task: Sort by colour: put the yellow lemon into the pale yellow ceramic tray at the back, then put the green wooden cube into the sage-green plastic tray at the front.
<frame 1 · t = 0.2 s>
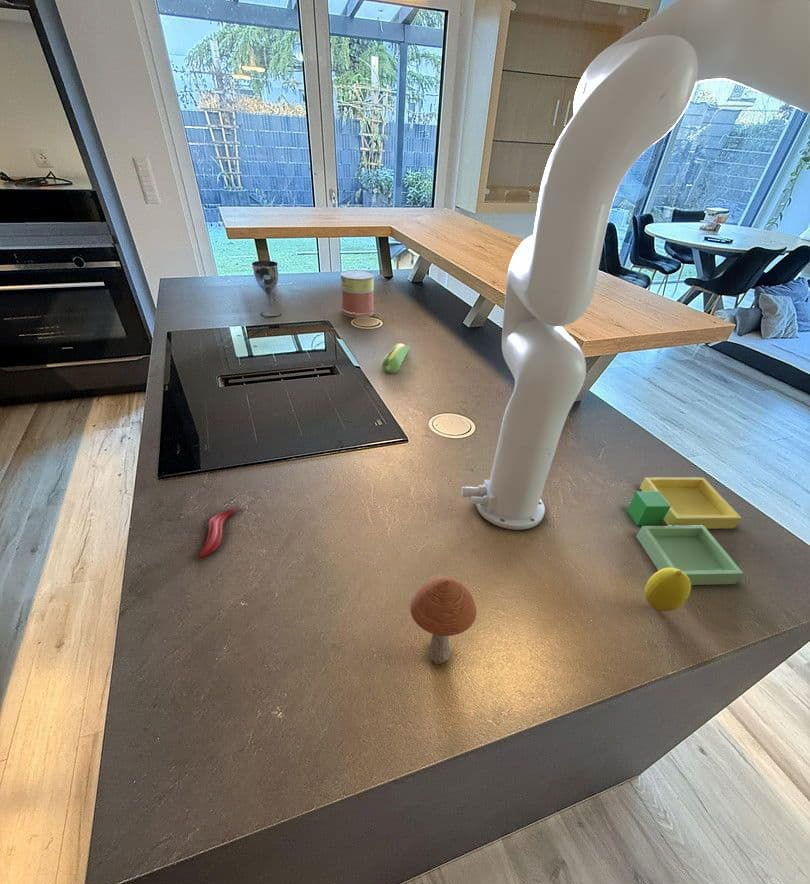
green cube: (642, 517, 86), on the kitchen island
yellow tray: (684, 507, 90), on the kitchen island
green tray: (683, 559, 79), on the kitchen island
edible corn: (396, 364, 133), on the kitchen island
canned food: (357, 313, 164), on the kitchen island
mushroom: (435, 655, 62), on the kitchen island
wine glass: (271, 314, 158), on the kitchen island
lemon: (655, 607, 71), on the kitchen island
cayenne pepper: (215, 533, 77), on the kitchen island
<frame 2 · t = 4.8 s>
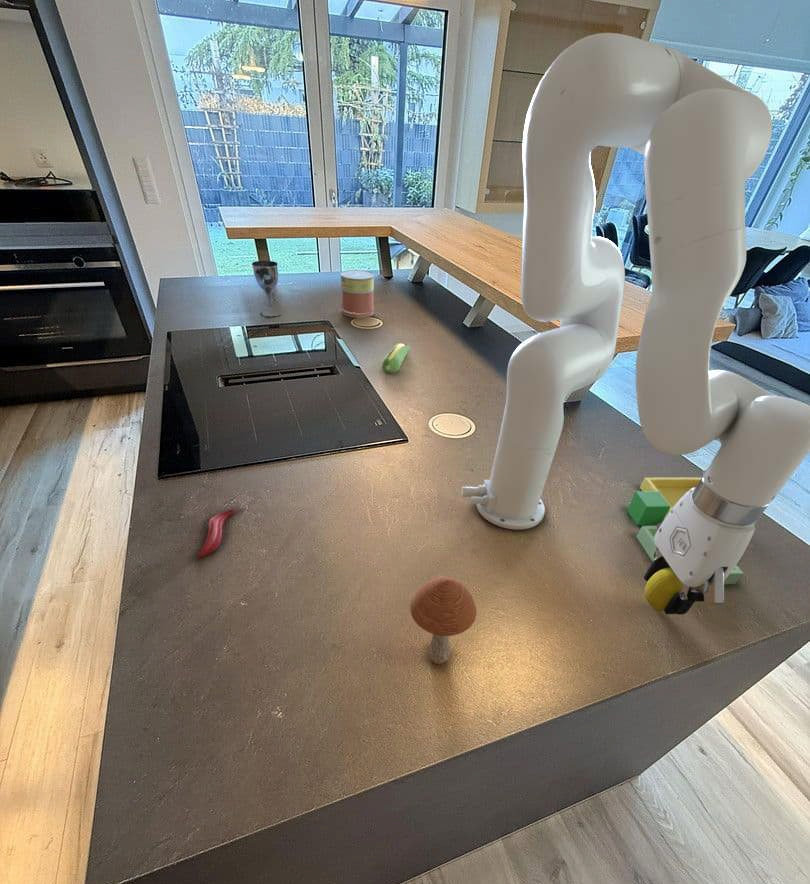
hand: (664, 594, 68), 3 cm above the kitchen island, tool pointing down, fingers closed on lemon, 5 cm apart
lemon: (655, 607, 71), on the kitchen island, touching gripper
everything else where it was.
when the fingers open (4 cm above the kitchen island, at t = 12.8 s): lemon stays where it is, resting on yellow tray.
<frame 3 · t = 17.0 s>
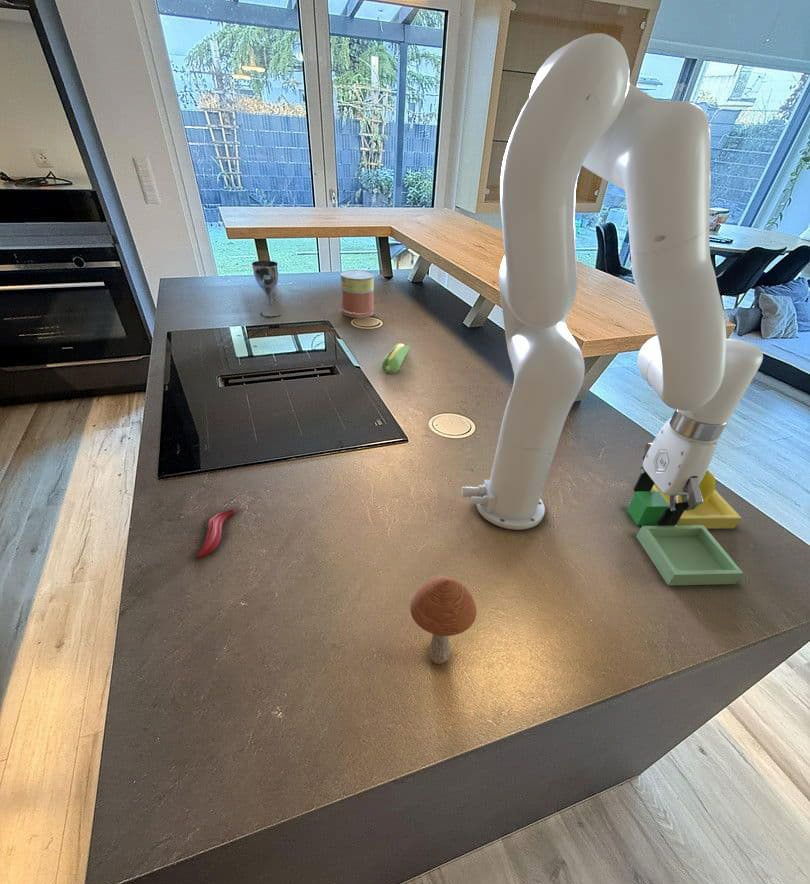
hand: (653, 507, 85), 3 cm above the kitchen island, tool pointing down, fingers open, 9 cm apart
lemon: (685, 505, 89), resting on yellow tray
everything else where it was.
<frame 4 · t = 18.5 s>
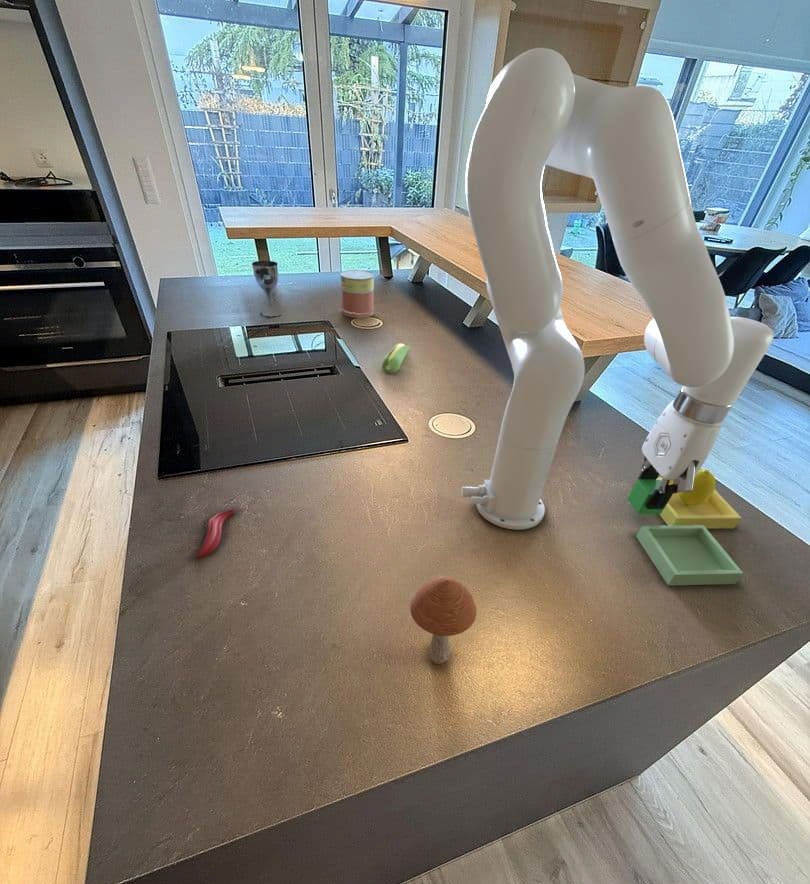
hand: (647, 498, 83), 5 cm above the kitchen island, tool pointing down, fingers closed on green cube, 4 cm apart
green cube: (643, 506, 85), point 3 cm above the kitchen island, touching gripper
everything else where it was.
when the fingers open (2 cm above the kitchen island, at t = 23.3 s): green cube stays where it is, resting on green tray.
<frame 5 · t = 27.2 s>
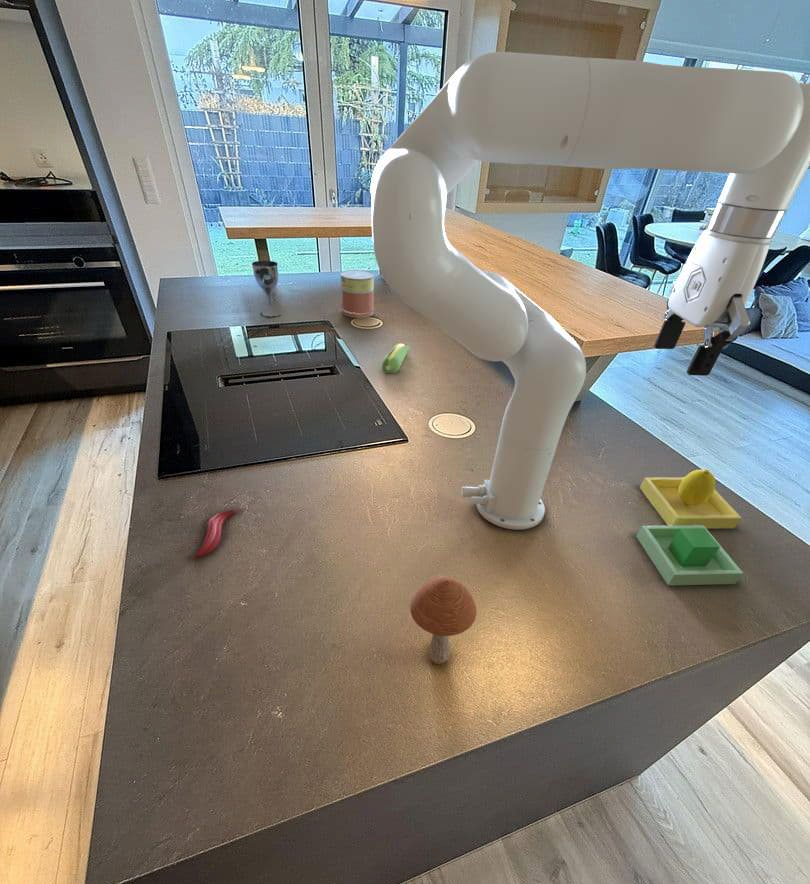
hand: (679, 360, 69), 28 cm above the kitchen island, tool pointing down, fingers open, 9 cm apart
green cube: (686, 556, 78), point 1 cm above the kitchen island, touching green tray
everything else where it was.
at the end: lemon inside the target area in the yellow tray (0.1 cm from its centre), point 0.4 cm above the yellow tray's base; green cube inside the target area in the green tray (0.3 cm from its centre), point 0.6 cm above the green tray's base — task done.
